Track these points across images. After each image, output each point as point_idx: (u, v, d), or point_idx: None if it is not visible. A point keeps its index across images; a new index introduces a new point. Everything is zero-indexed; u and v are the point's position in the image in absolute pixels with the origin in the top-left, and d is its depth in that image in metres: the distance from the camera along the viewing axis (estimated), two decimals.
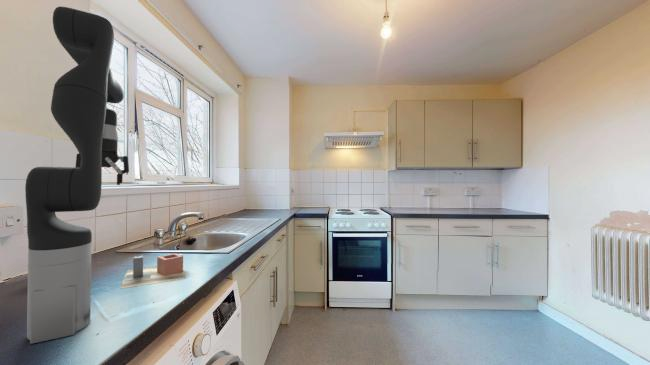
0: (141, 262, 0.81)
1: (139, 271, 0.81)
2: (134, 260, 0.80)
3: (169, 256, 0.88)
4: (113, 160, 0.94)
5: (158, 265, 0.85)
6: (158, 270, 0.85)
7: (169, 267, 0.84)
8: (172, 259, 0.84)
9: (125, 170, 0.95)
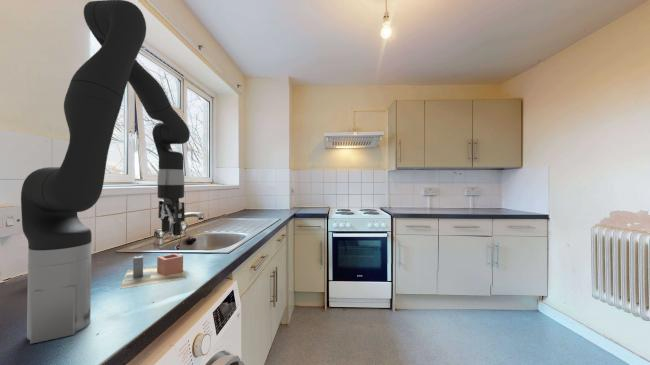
0: (141, 262, 0.81)
1: (139, 271, 0.81)
2: (134, 260, 0.80)
3: (169, 256, 0.88)
4: None
5: (158, 265, 0.85)
6: (158, 270, 0.85)
7: (169, 267, 0.84)
8: (172, 259, 0.84)
9: None
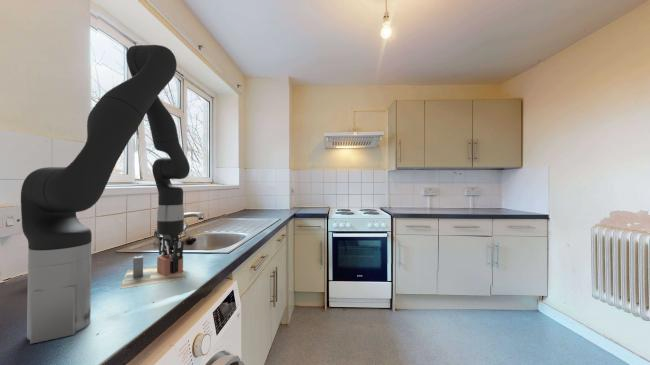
0: (141, 262, 0.81)
1: (139, 271, 0.81)
2: (134, 260, 0.80)
3: (169, 256, 0.88)
4: None
5: (158, 265, 0.85)
6: (158, 270, 0.85)
7: (169, 267, 0.84)
8: None
9: None
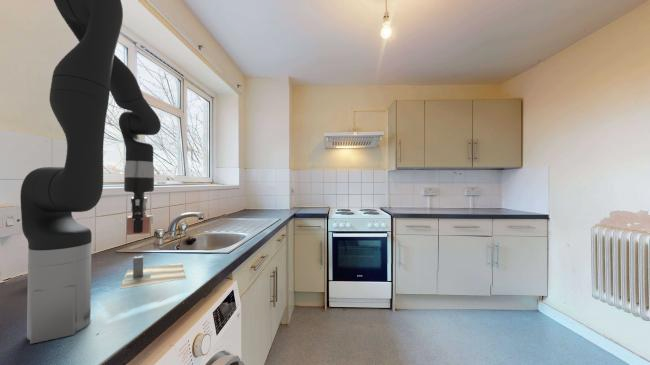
0: (141, 262, 0.81)
1: (139, 271, 0.81)
2: (134, 260, 0.80)
3: None
4: None
5: None
6: None
7: (132, 226, 0.79)
8: None
9: None
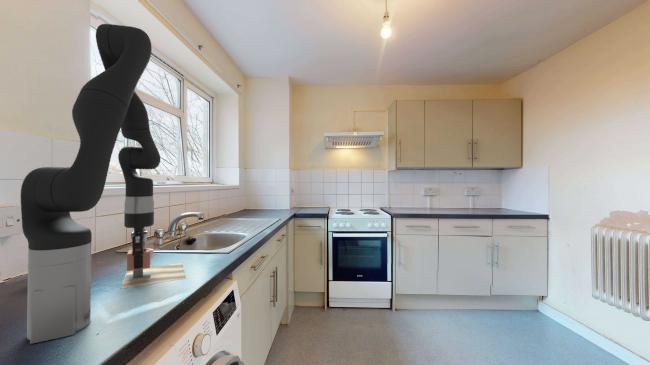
0: None
1: (139, 271, 0.81)
2: None
3: None
4: None
5: None
6: None
7: (133, 262, 0.79)
8: None
9: None
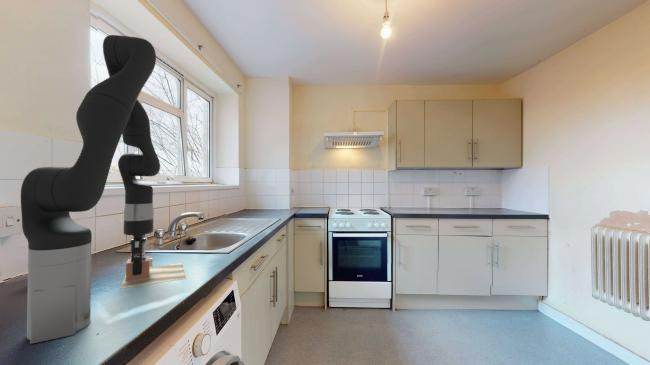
0: None
1: None
2: None
3: None
4: None
5: None
6: None
7: (132, 271, 0.79)
8: None
9: None
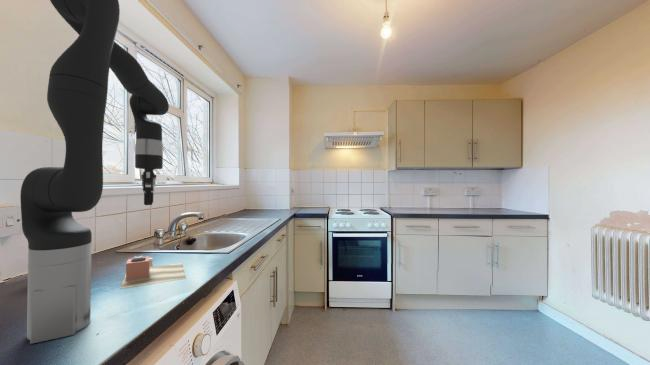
0: None
1: None
2: (134, 260, 0.80)
3: None
4: None
5: None
6: None
7: (132, 271, 0.79)
8: (136, 263, 0.79)
9: None
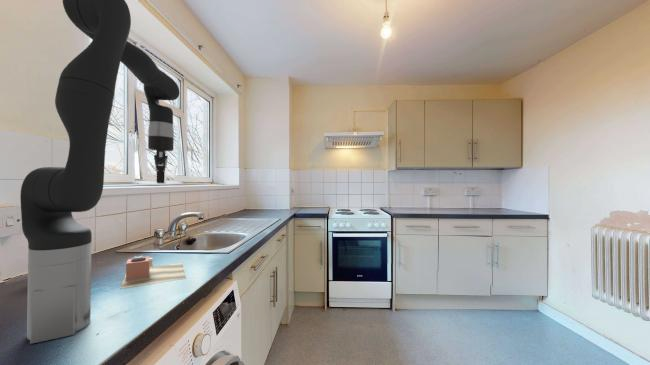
0: None
1: None
2: (134, 260, 0.80)
3: None
4: None
5: None
6: None
7: (132, 271, 0.79)
8: (136, 263, 0.79)
9: None
